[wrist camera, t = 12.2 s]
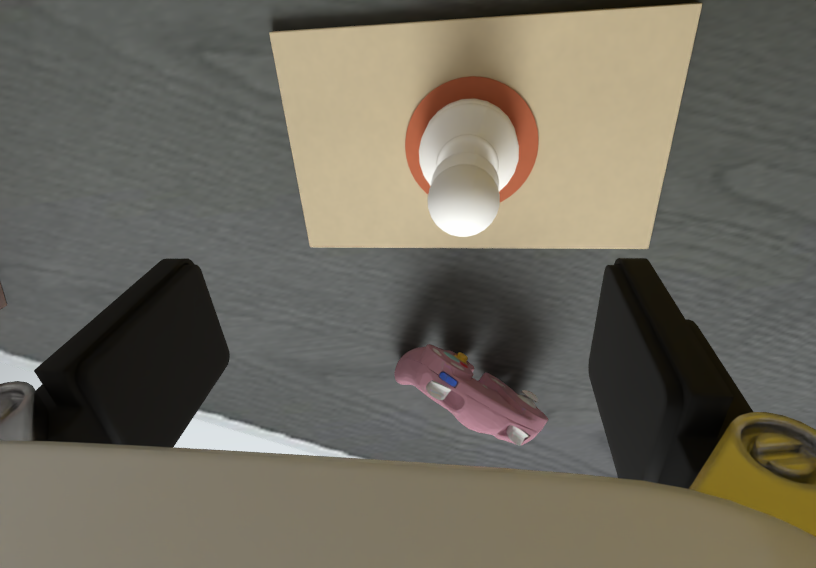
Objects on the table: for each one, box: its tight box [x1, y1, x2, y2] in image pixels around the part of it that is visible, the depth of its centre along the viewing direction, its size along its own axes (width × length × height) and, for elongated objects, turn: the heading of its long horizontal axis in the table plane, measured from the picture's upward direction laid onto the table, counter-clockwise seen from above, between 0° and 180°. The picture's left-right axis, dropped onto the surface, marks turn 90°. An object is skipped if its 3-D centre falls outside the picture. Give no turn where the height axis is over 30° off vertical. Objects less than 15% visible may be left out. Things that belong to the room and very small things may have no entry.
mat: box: [269, 3, 702, 249], centre depth 25 cm, size 12×20×1 cm, turn 94°
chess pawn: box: [419, 99, 519, 237], centre depth 21 cm, size 5×5×9 cm
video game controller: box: [395, 344, 548, 445], centre depth 31 cm, size 10×5×7 cm, turn 58°
